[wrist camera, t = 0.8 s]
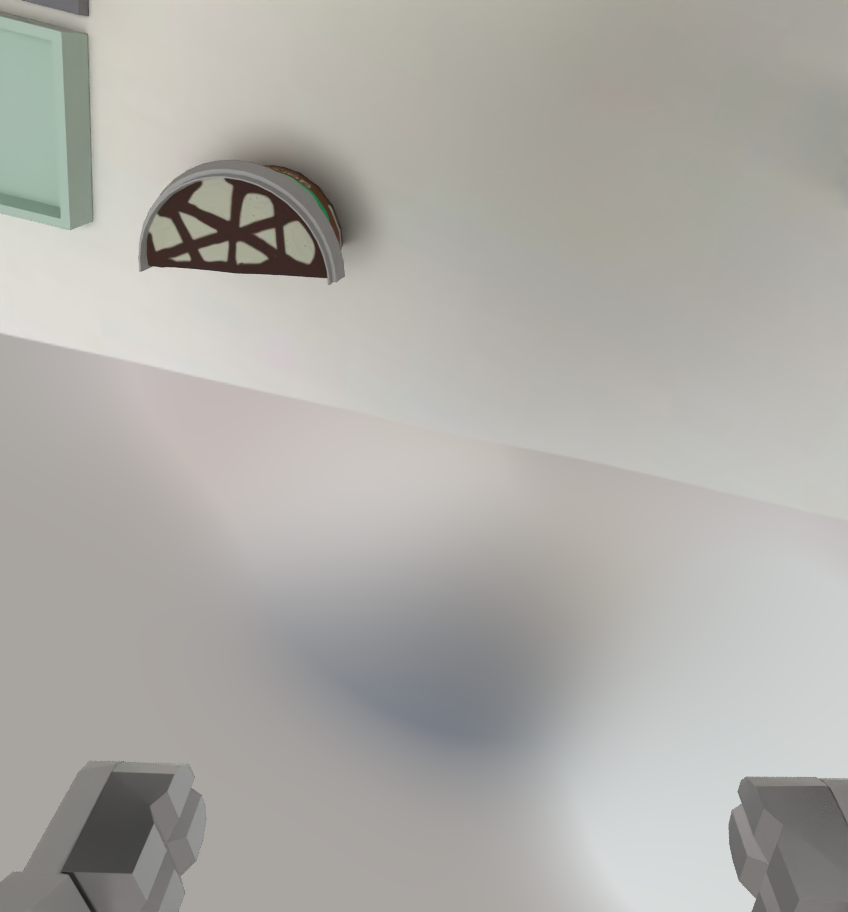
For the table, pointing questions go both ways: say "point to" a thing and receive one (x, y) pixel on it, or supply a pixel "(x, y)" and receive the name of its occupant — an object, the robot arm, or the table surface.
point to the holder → (66, 5)
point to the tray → (44, 123)
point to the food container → (243, 223)
